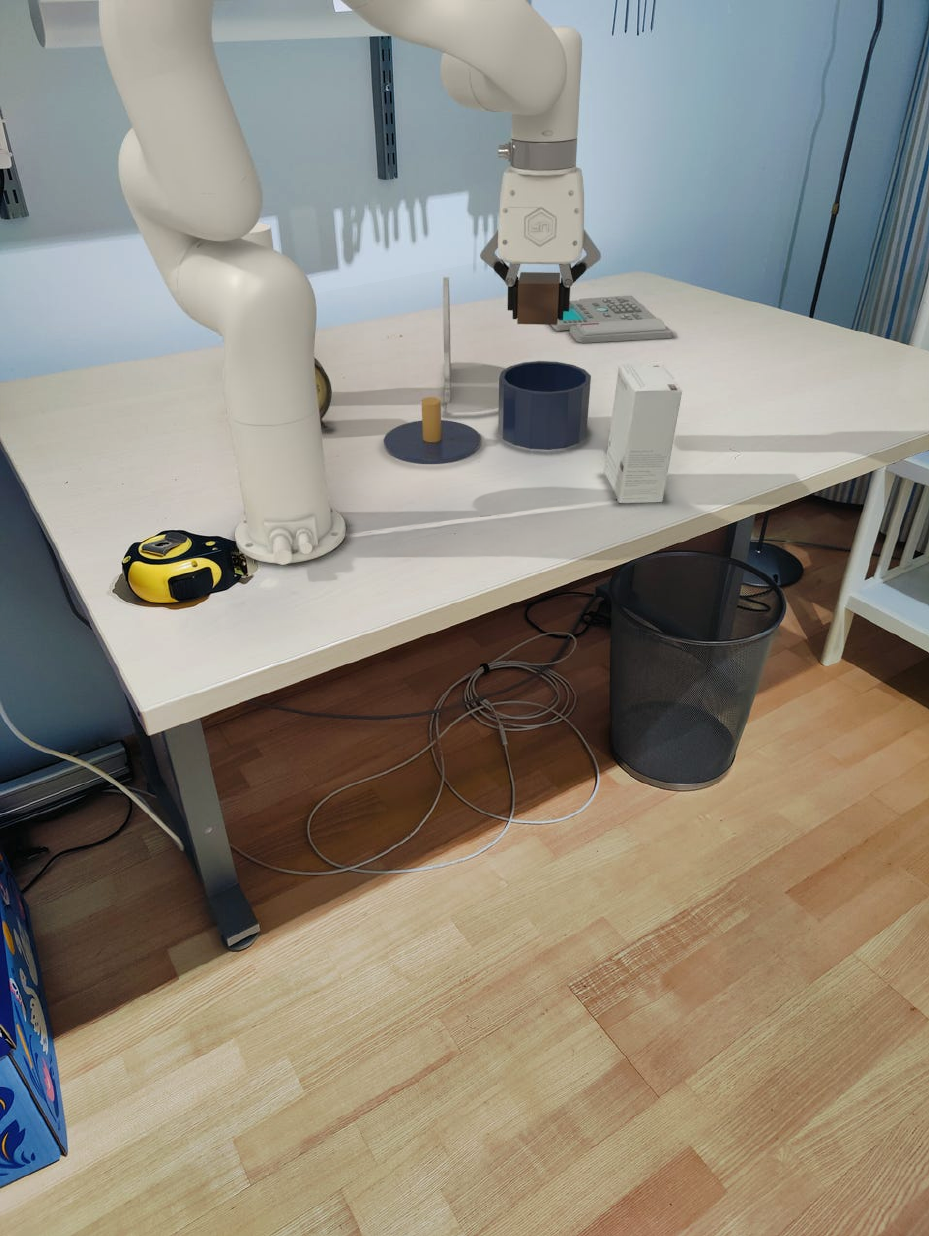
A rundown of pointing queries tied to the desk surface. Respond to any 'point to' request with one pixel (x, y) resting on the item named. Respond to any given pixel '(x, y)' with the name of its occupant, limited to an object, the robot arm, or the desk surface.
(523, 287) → the block
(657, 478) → the cosmetic box
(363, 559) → the desk surface
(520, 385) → the tin
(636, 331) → the office telephone
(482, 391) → the grey metal bookend
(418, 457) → the tin lid
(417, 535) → the desk surface
